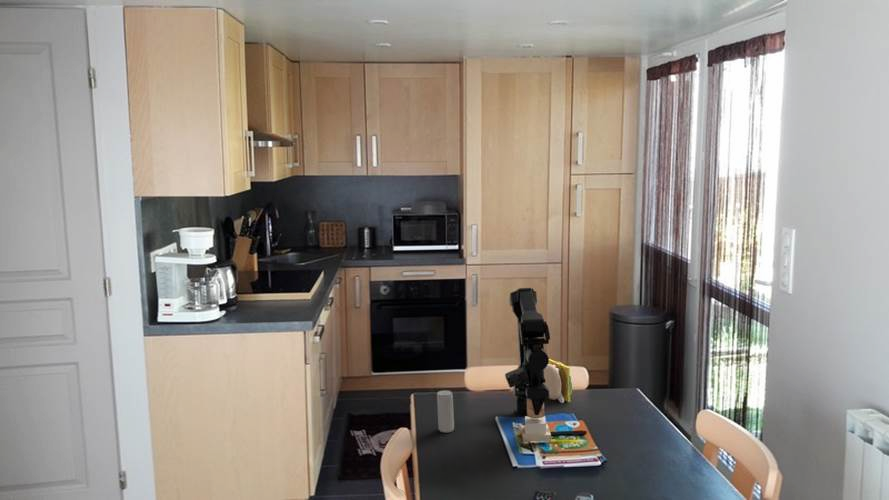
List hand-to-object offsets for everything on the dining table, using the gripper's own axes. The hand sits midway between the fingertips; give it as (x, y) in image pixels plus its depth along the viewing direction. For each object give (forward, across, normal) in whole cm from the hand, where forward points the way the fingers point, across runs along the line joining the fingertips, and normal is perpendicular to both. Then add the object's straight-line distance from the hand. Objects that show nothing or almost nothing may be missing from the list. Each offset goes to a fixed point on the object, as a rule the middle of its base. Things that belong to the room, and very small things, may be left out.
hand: (535, 411), depth 208 cm
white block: (+6, 0, 0) cm, 6 cm away
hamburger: (+8, -34, +10) cm, 37 cm away
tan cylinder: (+1, 0, 0) cm, 1 cm away
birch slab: (+8, 0, 0) cm, 9 cm away
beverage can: (+8, -8, -27) cm, 29 cm away
